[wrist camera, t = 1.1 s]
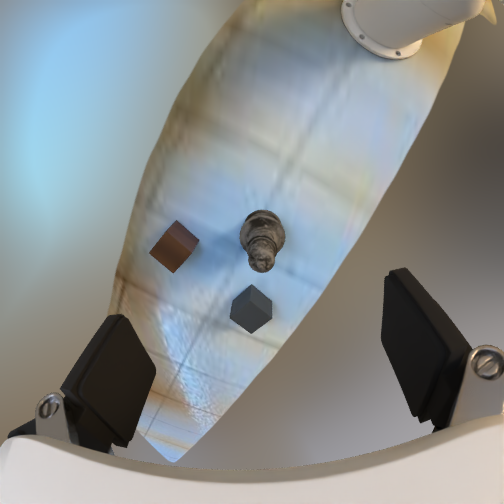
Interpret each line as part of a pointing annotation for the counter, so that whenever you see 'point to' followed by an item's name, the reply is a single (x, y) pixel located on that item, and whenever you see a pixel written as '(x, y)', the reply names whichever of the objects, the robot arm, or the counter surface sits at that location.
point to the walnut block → (174, 246)
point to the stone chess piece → (262, 239)
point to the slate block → (251, 309)
